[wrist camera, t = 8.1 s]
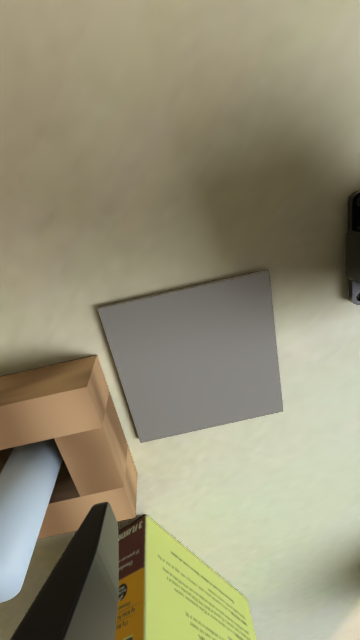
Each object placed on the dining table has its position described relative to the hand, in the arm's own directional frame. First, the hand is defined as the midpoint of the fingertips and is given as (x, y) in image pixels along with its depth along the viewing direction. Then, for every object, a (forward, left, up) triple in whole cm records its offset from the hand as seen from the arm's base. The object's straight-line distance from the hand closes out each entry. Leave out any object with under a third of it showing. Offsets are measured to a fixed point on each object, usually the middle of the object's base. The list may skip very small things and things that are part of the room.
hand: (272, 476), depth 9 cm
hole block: (+12, +6, -12) cm, 18 cm away
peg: (+12, +6, -12) cm, 18 cm away
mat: (+1, +3, -12) cm, 12 cm away
